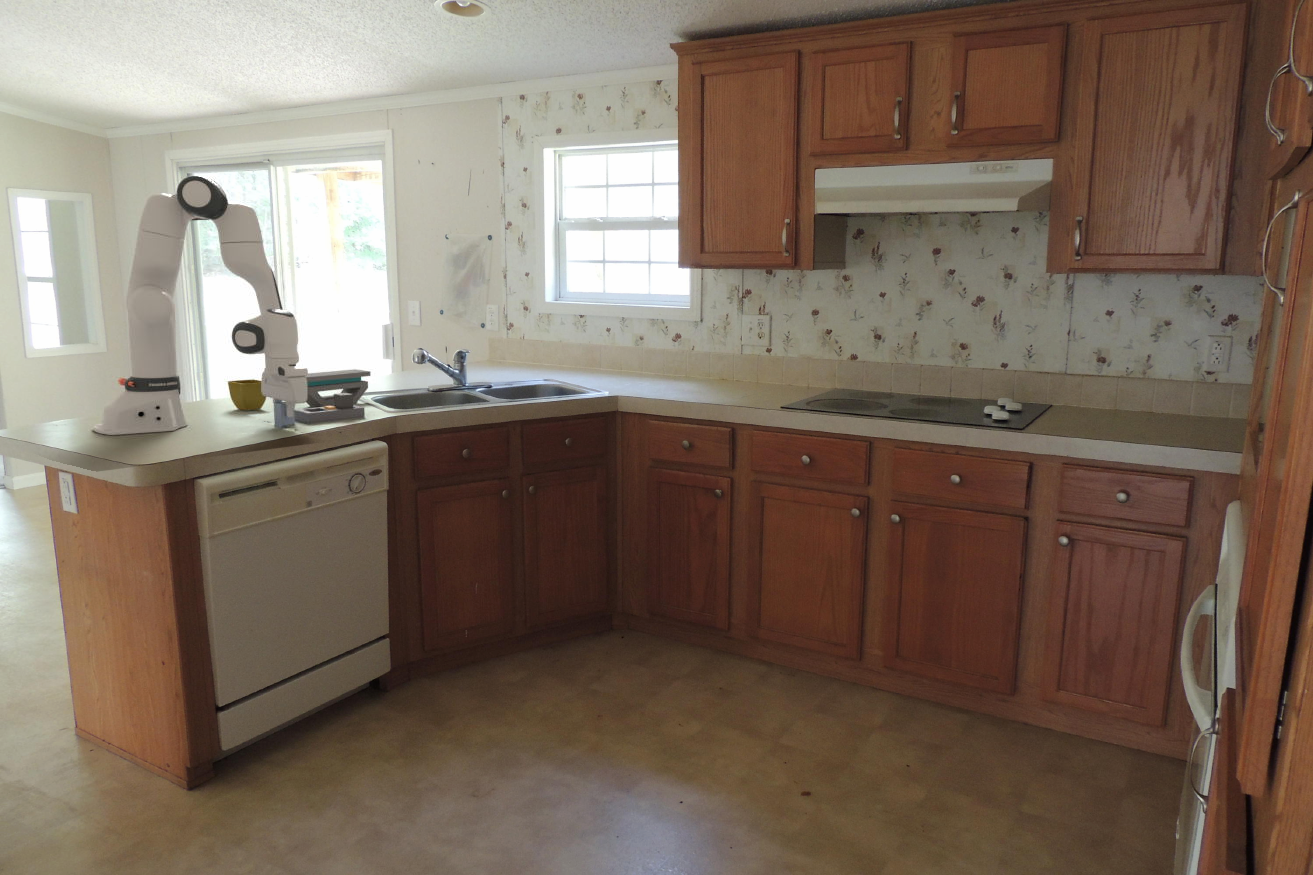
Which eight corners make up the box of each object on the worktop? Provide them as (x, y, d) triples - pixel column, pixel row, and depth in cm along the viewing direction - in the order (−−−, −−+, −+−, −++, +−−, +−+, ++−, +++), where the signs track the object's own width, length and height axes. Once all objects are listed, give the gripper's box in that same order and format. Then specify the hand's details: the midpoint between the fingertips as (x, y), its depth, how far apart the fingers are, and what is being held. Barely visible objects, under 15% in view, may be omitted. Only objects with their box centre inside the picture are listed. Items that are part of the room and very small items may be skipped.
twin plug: (341, 418, 265) (340, 395, 264) (334, 416, 268) (333, 393, 266) (353, 417, 268) (352, 394, 267) (346, 415, 271) (345, 392, 269)
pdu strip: (308, 427, 255) (307, 411, 255) (294, 423, 261) (294, 407, 260) (364, 420, 269) (364, 405, 268) (350, 417, 274) (350, 402, 273)
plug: (281, 428, 252) (280, 404, 250) (274, 426, 254) (273, 402, 253) (295, 427, 255) (294, 403, 253) (288, 425, 257) (287, 401, 256)
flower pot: (254, 406, 287) (253, 378, 285) (270, 409, 282) (268, 381, 280) (228, 409, 280) (226, 381, 278) (243, 412, 275) (242, 383, 273)
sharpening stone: (356, 400, 306) (355, 369, 304) (371, 403, 302) (370, 371, 300) (291, 408, 286) (290, 375, 284) (307, 411, 282) (305, 377, 280)
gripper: (254, 364, 255) (256, 411, 258) (289, 371, 242) (291, 421, 245) (275, 363, 260) (277, 409, 263) (311, 370, 247) (312, 419, 250)
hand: (284, 415), depth 254 cm, fingers closed on plug, 4 cm apart
